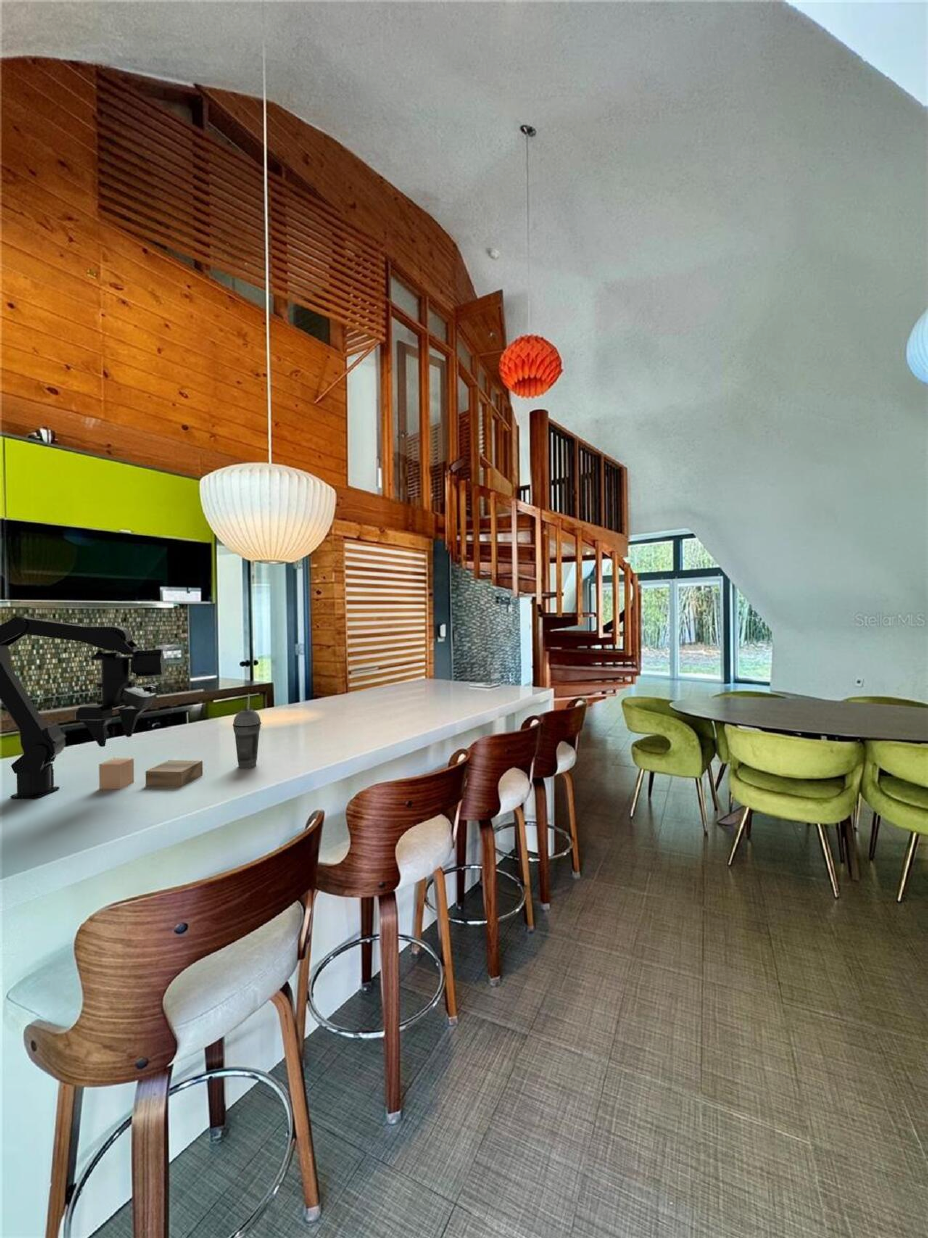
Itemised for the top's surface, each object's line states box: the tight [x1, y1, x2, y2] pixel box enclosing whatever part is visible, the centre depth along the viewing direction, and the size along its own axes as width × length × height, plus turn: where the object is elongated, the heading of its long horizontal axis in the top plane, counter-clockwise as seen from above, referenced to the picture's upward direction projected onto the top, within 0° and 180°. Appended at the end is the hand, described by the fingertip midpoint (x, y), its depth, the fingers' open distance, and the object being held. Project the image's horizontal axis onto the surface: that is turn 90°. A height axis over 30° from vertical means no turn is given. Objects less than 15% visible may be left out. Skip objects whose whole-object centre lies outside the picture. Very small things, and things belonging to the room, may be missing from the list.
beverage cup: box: [232, 693, 262, 769], centre depth 140 cm, size 7×7×20 cm
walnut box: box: [145, 759, 204, 788], centre depth 128 cm, size 9×9×4 cm
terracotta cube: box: [98, 757, 135, 790], centre depth 125 cm, size 5×5×6 cm
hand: (116, 741), depth 124 cm, fingers open, 9 cm apart
